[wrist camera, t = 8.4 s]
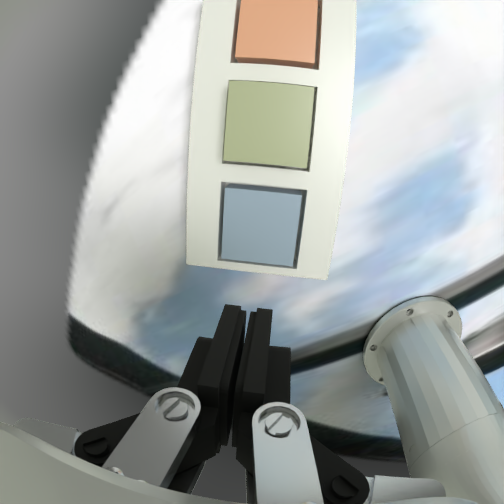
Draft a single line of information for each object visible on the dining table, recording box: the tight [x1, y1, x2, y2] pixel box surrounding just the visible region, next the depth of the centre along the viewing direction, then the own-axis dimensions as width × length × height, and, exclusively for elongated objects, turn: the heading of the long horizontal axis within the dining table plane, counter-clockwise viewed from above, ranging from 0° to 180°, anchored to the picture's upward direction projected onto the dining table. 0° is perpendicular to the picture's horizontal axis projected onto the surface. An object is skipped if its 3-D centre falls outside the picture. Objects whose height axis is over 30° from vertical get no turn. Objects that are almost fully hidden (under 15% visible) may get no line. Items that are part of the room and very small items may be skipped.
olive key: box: [223, 80, 314, 168], centre depth 20 cm, size 6×6×2 cm
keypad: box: [186, 0, 356, 280], centre depth 22 cm, size 24×12×3 cm, turn 175°
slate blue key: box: [221, 183, 302, 266], centre depth 24 cm, size 6×6×2 cm
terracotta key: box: [235, 0, 318, 69], centre depth 18 cm, size 6×6×2 cm
